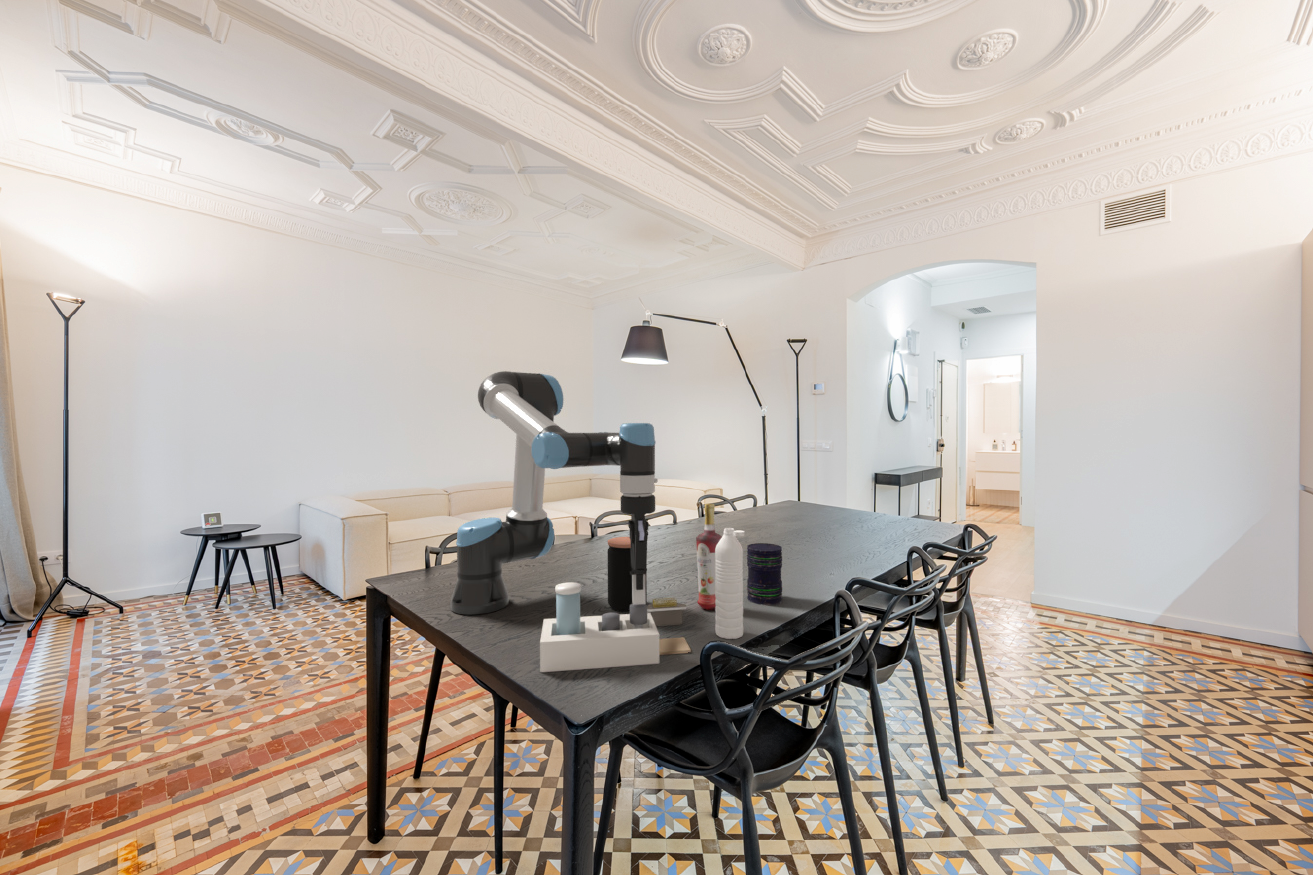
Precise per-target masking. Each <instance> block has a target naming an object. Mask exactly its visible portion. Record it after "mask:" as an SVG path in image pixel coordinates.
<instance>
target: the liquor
mask: <svg viewBox="0 0 1313 875" xmlns="http://www.w3.org/2000/svg"><path fill="white" fill-rule="evenodd" d="M715 510H716V509H715V504H714V503H704V513H705V516H704V517H705V519H704V528H703V529H704V530H703V531H704V532H702V533H700V534H698V536H696V538H695V543H696V545H695V546H696V561H697V562H696V563H697V579H698V580H697V582H698V600H697V604H698V605H699V607H700V608H702V609H703V610H705V609H706V611H715V607H716V604H715V600H716V597H715V591H716V589H715V580H716V579H715V577H716V575H715V573H716V572H715V570H716V568H715V566H716V565H715V563H716V562H715V559H716V558H715V548H716V545H717V544H718V542H719V541H720V539H721V538H722V536H723V535H722V536H721V534H720V533H716V527H715V512H716V511H715Z"/></svg>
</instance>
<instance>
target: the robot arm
mask: <svg viewBox="0 0 1313 875" xmlns="http://www.w3.org/2000/svg"><path fill="white" fill-rule="evenodd" d="M477 399H478V404H479V406H480V408H481V409H482V411H483V412H484V413H485V414H487V415H488V416H489V417H491V418H492V419H496V420H500V422H502V423H503V424H505V425H506V426H507V427H508V428H509V429H510V430H511V431H512V432H514V433H515V434H516V435H515V436H516V439H515V455H514V468H513V469H514V470H513V471H514V472H513V487H512V488H513V489H512V501H511V502H512V505H511V508H510V509H509V510H508V511H507V512H506V514H505V515H506V516H505V521H502V519H501V518H499V517H486V518H485V517H484V518H478V519H473V520H470V521H467V522H465V523H463V524H461V525H460V526H459V527H458V529H457V531H456V532H457V535H456V536H457V538H456V571H457V572H456V574H457V575H456V578H457V580H456V583H455V586H454V589H453V592H452V595H451V598H450V610H451V612H453V613H455V614H460V615H467V616H468V615H470V616H471V615H482V614H488V613H489V614H490V613H493V612H496V611H499V610H501V609H504V608H506V607H507V606H508V605H509V603H510V602H509V599H510V598H509V592H508V589H507V586H506V584H505V581H504V578H503V571H502V570H503V567H502V566H503V564H504V565H505V564H509V563H515V562H520V561H527V560H535V559H536V558H540V557H543V556H546V555H547V554H548V553H549V552H550V550H551V549H552V546H553V544H554V540H555V529H554V528H553V527H554V524H553V522H552V520H551V519H550V518H549V517H548V513H547V512H546V511H545V509H544V508H543V507H544V506H543V504H544V492H545V491H544V488H545V476H546V469H551V470H557V469H566V468H580V467H584V468H585V467H600V466H601V467H602V466H620V467H619V468H620V471H619V472H620V475H619V491H620V493H621V494H622V495H621V496H620V512H621V513H622V514H625V515H631V516H630V518H631V519H630V520H628V521H627V523H628V524H627V526H628V528H629V529H628V531H629V537H630V544H631V567H632V571H630V575H632V603H633V605H634V604H647V602H646V597H645V573H648V566H647V565H648V564H647V560H648V538H649V532H648V531H649V521H647V519H646V516H645V515H648V514H653V513H655V512H656V496H655V494H653V493H655V491H656V485H655V484H656V483H658V478H656V475H655V474H656V471H655V470H656V440H655V438H656V437H655V428H654V426H653V424H651V423H649V422H628V423H622V424H620V426H619V432H607V431H604V432H602V431H601V432H570V431H569V432H568V431H566V430H565V429H563V428H562V427H561V426H559V425H558V424H557V423H555V422H554V420H555V418H554V417H555V416H557V415H559V414H560V413H561V412H562V409H563V407H564V392H563V389H562V386H561V384H560V382H559V381H558V379H557V378H556V377H554V376H552V375H549V374H544V373H541V372H540V373H533V372H532V373H531V372H520V371H519V372H518V371H507V370H505V371H504V370H503V371H497V372H494V373H492V374H490V375H489V376H487V377H485V379H484V380H483V381H482V382H481V384H480V385H479V388H478V392H477Z"/></svg>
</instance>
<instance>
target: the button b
mask: <svg viewBox="0 0 1313 875" xmlns="http://www.w3.org/2000/svg"><path fill="white" fill-rule="evenodd" d="M647 606H648V604H647V603H646V604H634V605H633V604H631V605H630V612H629V614H630V623H631V624H634V629H642V628H643V624H646V623H647V613H648V611H647Z"/></svg>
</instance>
